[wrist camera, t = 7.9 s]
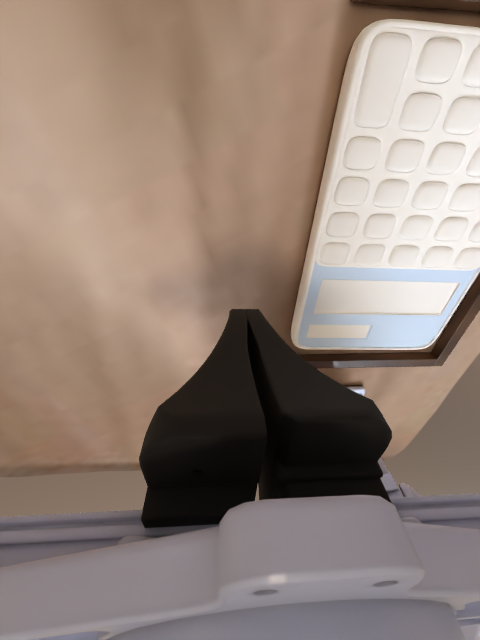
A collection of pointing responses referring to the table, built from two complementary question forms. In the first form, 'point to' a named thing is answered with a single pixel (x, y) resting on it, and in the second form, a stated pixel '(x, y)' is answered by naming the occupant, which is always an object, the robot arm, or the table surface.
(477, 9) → the tray
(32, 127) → the table surface
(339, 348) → the calculator
